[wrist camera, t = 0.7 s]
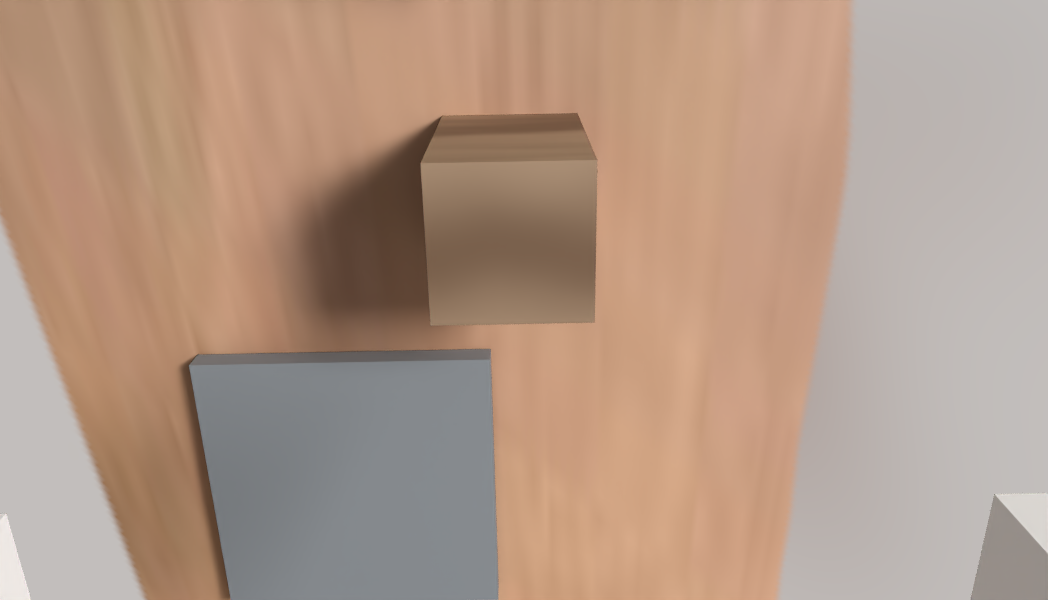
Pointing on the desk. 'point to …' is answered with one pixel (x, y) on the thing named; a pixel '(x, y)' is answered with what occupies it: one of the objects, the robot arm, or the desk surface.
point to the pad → (352, 473)
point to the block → (510, 220)
